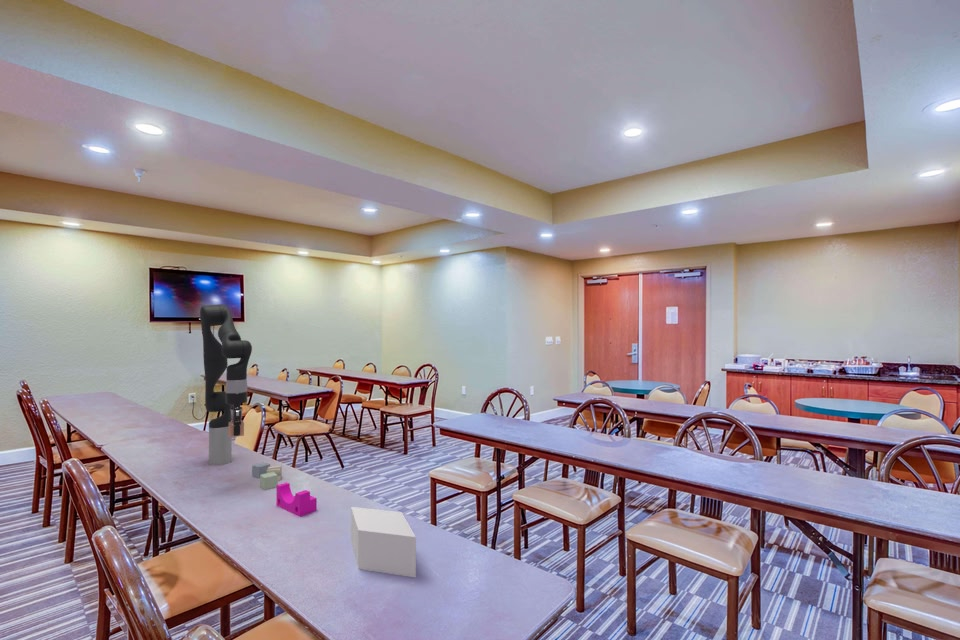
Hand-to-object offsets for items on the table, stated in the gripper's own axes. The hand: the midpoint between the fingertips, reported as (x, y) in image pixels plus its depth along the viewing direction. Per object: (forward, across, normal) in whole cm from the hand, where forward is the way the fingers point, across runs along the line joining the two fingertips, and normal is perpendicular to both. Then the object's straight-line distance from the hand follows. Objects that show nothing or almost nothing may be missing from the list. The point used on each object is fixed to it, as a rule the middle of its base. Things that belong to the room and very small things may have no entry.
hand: (236, 433), depth 173 cm
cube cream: (+21, -2, +14) cm, 26 cm away
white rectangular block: (+22, +81, +30) cm, 89 cm away
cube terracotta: (0, 0, 0) cm, 0 cm away
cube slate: (+21, -10, +10) cm, 26 cm away
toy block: (+22, +33, +16) cm, 43 cm away
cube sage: (+21, +6, +11) cm, 25 cm away
